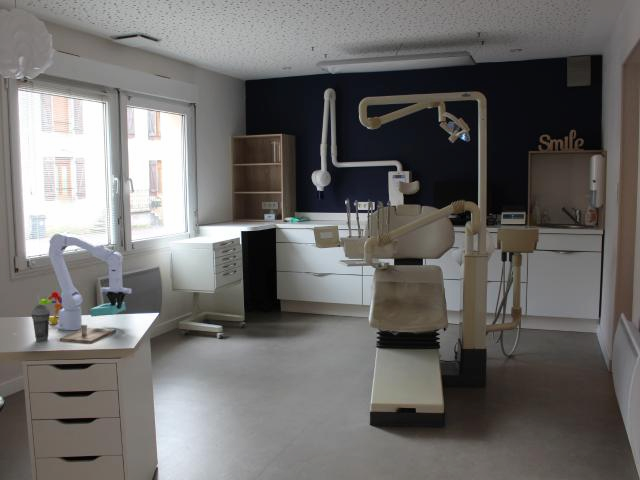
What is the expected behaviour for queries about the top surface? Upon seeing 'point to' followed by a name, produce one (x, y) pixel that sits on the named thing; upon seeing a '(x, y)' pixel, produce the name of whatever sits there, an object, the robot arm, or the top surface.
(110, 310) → the loop
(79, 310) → the robot arm
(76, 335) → the peg board
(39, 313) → the beverage cup
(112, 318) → the top surface
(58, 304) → the educational toy
